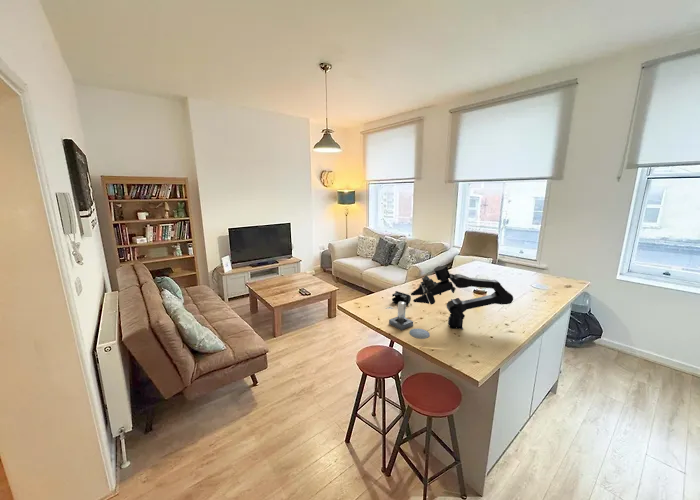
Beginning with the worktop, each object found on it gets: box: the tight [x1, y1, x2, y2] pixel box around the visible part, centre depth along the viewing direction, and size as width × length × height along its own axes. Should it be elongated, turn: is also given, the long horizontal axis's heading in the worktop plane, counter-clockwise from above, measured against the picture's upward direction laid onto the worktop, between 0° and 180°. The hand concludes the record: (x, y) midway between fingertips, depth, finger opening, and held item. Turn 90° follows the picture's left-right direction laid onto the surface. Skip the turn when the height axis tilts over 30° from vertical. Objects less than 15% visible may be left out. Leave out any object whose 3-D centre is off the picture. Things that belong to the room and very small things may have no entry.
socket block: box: [388, 316, 414, 331], centre depth 152 cm, size 9×9×3 cm
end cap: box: [391, 290, 412, 306], centre depth 182 cm, size 10×7×7 cm
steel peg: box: [396, 301, 407, 324], centre depth 151 cm, size 4×4×12 cm
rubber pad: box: [409, 328, 431, 340], centre depth 144 cm, size 10×10×1 cm
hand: (412, 297), depth 151 cm, fingers open, 9 cm apart
